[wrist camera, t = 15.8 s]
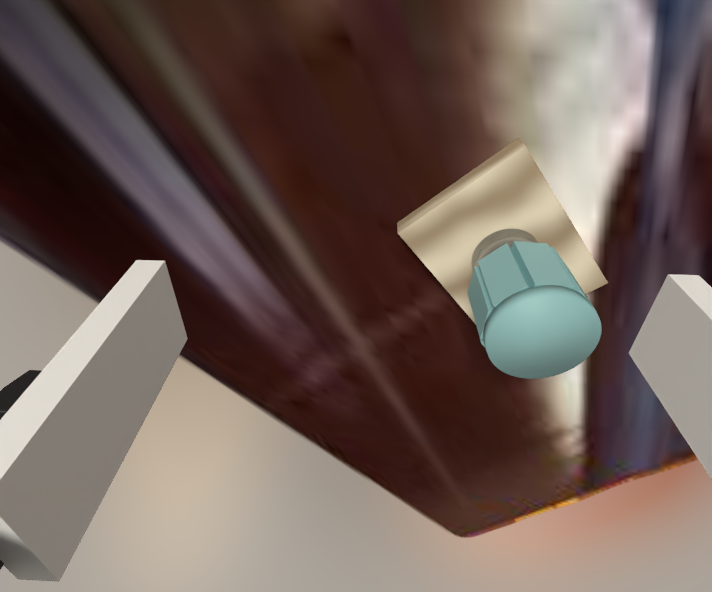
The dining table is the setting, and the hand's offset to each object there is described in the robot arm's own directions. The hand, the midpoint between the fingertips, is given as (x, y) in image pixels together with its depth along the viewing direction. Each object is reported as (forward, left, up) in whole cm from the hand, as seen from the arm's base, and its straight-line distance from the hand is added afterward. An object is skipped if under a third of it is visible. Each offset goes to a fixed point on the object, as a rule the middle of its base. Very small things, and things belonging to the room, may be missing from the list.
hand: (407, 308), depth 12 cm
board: (+17, 0, -27) cm, 32 cm away
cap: (+17, 0, -21) cm, 27 cm away
